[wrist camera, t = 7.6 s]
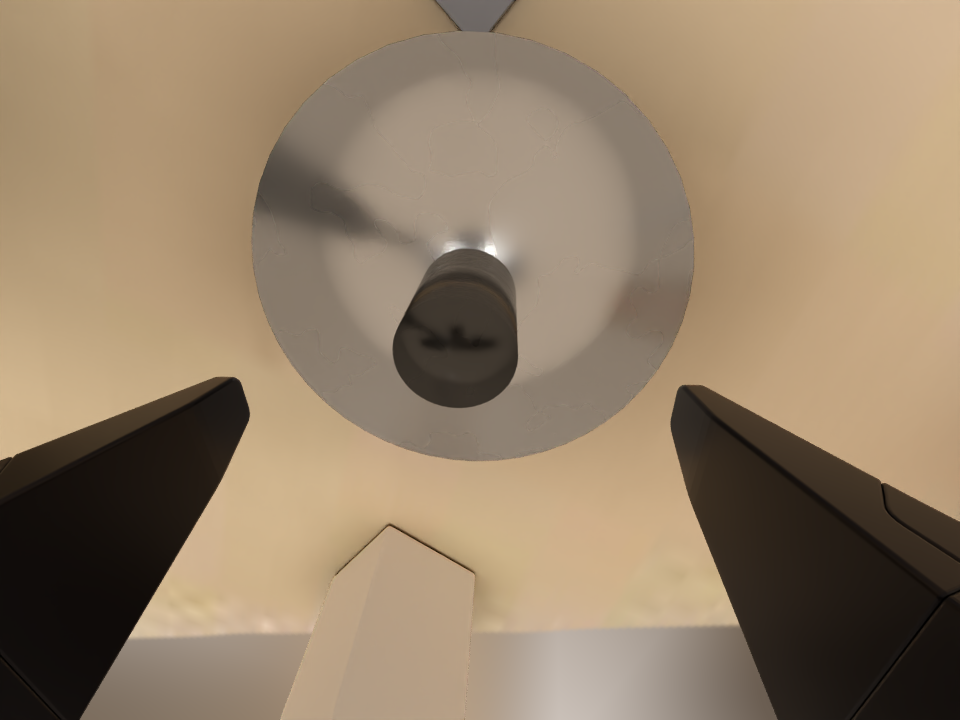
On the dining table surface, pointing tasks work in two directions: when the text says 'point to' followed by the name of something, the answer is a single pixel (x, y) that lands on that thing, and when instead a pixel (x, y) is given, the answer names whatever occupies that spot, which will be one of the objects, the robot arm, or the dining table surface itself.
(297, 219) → the lid
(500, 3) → the mat
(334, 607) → the milk carton
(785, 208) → the dining table surface
